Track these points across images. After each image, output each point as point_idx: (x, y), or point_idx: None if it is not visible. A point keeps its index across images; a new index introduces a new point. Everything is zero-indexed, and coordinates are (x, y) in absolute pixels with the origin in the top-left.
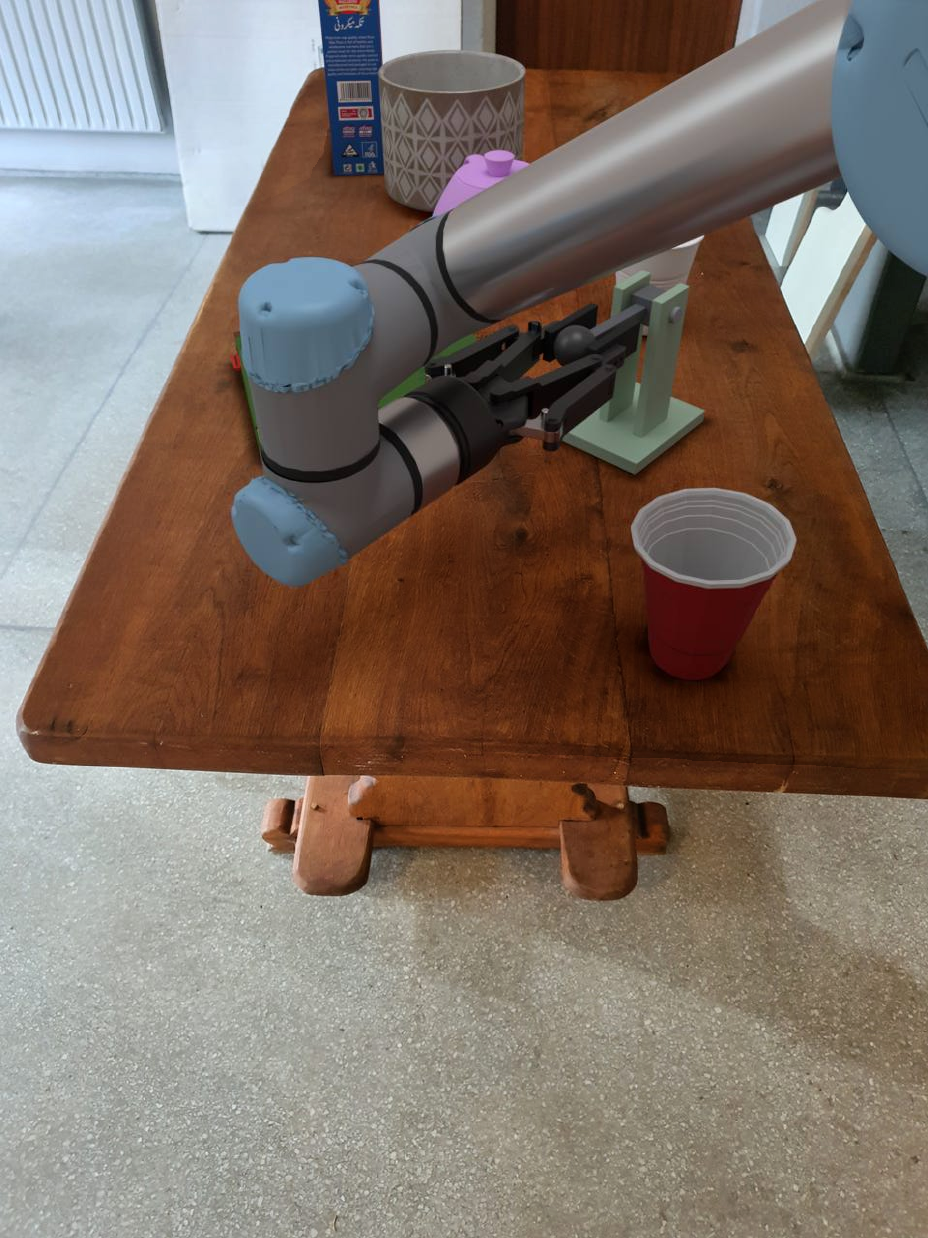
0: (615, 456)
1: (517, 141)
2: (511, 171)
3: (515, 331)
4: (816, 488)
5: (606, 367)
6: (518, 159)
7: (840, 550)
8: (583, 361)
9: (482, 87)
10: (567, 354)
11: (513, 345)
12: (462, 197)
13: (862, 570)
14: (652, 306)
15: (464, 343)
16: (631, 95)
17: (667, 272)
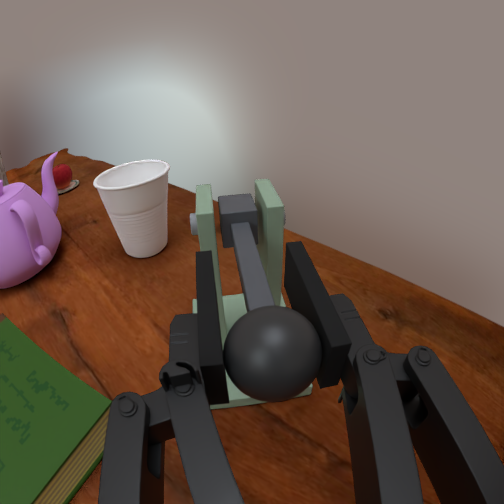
0: None
1: (5, 183)
2: (4, 192)
3: (143, 414)
4: (400, 295)
5: (424, 361)
6: None
7: (465, 326)
8: (374, 385)
9: None
10: (297, 386)
11: (190, 470)
12: None
13: (484, 327)
14: (269, 215)
15: (30, 359)
16: None
17: (158, 198)
